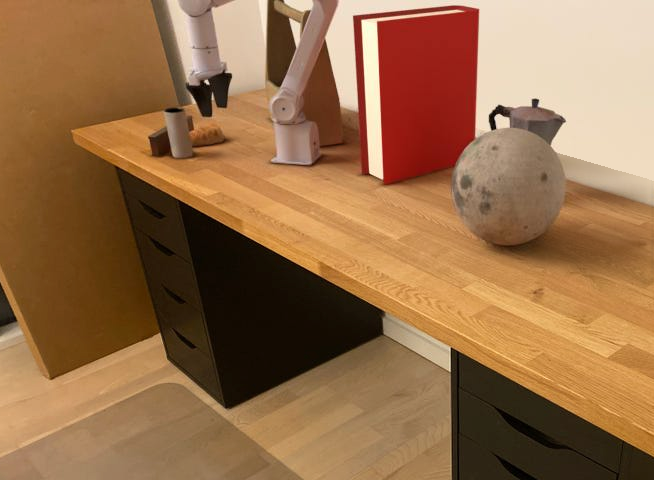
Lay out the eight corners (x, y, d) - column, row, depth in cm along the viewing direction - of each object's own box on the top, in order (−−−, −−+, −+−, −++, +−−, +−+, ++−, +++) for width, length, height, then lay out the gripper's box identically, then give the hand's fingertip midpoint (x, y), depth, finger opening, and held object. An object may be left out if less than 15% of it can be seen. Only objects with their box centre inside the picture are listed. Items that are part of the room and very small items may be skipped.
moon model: (572, 229, 136) (584, 122, 125) (541, 273, 121) (552, 155, 110) (474, 212, 142) (477, 108, 131) (432, 252, 127) (432, 138, 116)
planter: (172, 153, 168) (162, 108, 162) (192, 151, 169) (183, 106, 164) (173, 159, 164) (164, 113, 159) (194, 157, 166) (185, 111, 160)
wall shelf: (195, 133, 181) (192, 115, 178) (159, 156, 166) (155, 137, 163) (188, 133, 181) (185, 115, 179) (152, 156, 166) (147, 136, 164)
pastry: (193, 149, 170) (190, 133, 168) (177, 143, 174) (174, 127, 172) (227, 141, 176) (224, 125, 174) (211, 135, 180) (209, 120, 178)
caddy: (268, 118, 194) (252, -6, 177) (307, 114, 198) (295, -8, 181) (302, 149, 172) (287, 11, 156) (344, 143, 177) (334, 9, 160)
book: (383, 184, 154) (376, 21, 136) (361, 174, 159) (352, 15, 141) (477, 159, 169) (483, 9, 151) (455, 151, 174) (458, 4, 156)
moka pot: (556, 209, 144) (566, 107, 133) (480, 202, 147) (484, 101, 136) (560, 192, 152) (570, 94, 141) (488, 186, 155) (492, 89, 143)
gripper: (201, 39, 159) (212, 102, 167) (169, 52, 147) (182, 119, 155) (231, 41, 158) (241, 104, 166) (201, 54, 146) (213, 121, 154)
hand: (214, 112), depth 160 cm, fingers open, 7 cm apart
